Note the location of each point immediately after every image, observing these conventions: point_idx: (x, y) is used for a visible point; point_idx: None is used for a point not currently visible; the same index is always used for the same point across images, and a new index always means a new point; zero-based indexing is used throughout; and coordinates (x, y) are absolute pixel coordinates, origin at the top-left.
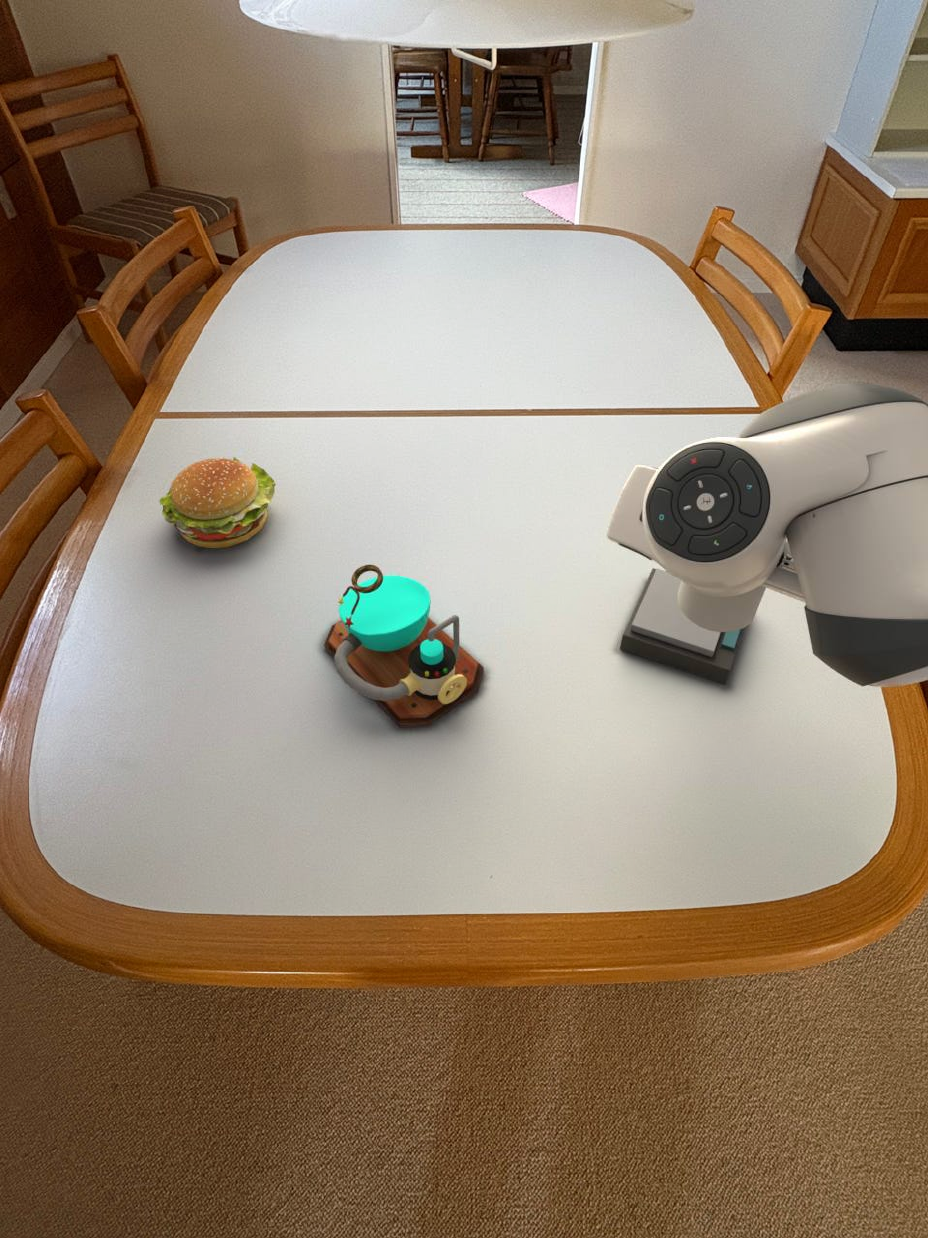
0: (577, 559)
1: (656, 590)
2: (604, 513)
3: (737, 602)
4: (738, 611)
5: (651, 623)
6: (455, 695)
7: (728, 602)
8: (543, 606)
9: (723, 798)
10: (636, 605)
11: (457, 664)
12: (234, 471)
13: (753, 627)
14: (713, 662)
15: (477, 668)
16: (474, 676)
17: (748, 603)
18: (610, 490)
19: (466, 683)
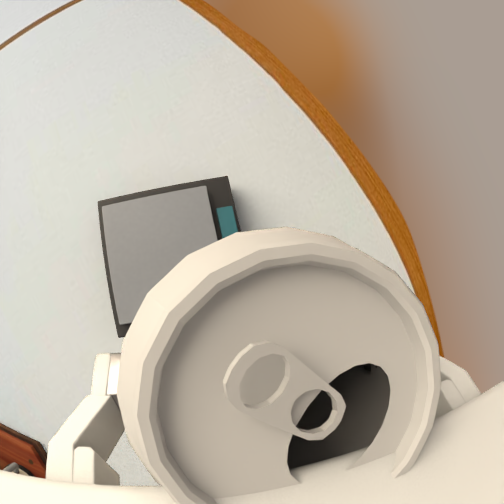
0: (24, 229)
1: (117, 245)
2: (28, 144)
3: (309, 424)
4: (306, 410)
5: (139, 307)
6: None
7: (293, 435)
8: (26, 324)
9: None
10: (107, 277)
11: (20, 456)
12: None
13: (241, 203)
14: None
15: (34, 448)
16: (40, 464)
17: (324, 401)
18: (26, 112)
19: None
